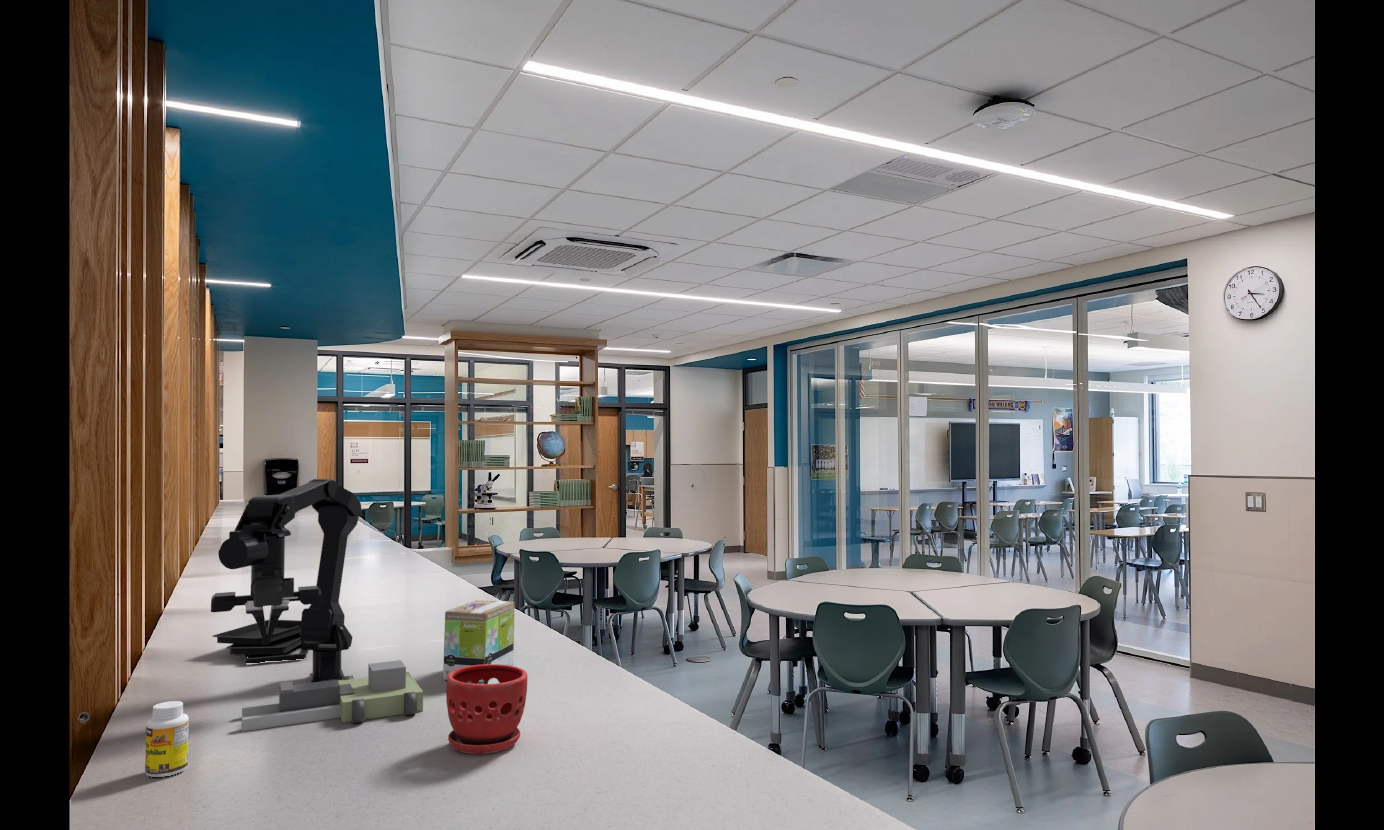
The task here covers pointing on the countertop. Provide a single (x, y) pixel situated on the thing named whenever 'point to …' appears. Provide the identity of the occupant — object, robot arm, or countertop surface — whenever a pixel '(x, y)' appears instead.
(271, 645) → the tray
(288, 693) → the dark grey stepped block
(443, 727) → the countertop surface
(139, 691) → the countertop surface
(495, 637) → the tea box
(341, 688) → the toy flatbed truck
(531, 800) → the countertop surface
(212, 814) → the countertop surface
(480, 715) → the plant pot
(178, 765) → the supplement bottle
